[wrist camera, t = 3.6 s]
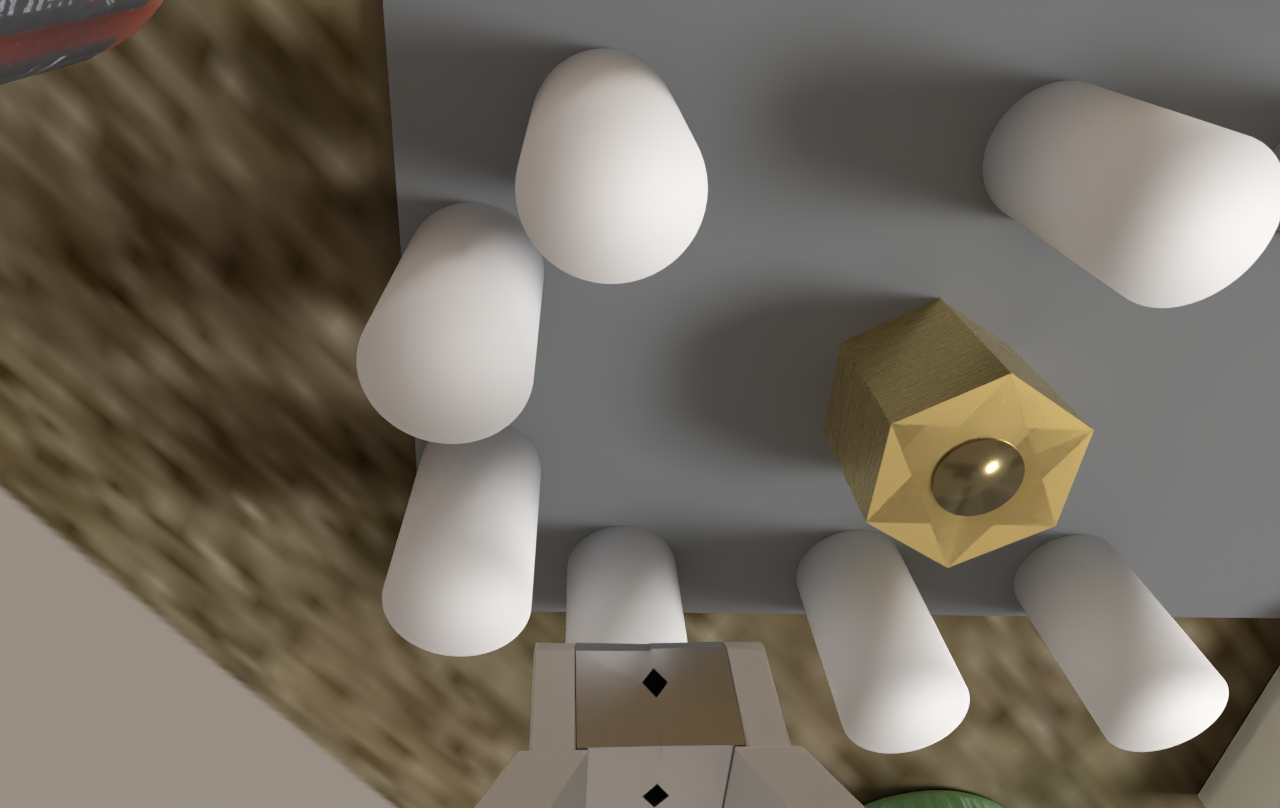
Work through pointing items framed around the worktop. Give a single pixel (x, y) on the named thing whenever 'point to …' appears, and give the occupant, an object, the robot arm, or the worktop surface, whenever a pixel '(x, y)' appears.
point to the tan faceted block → (950, 435)
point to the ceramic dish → (1250, 759)
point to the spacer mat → (832, 324)
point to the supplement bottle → (64, 32)
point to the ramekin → (933, 800)
